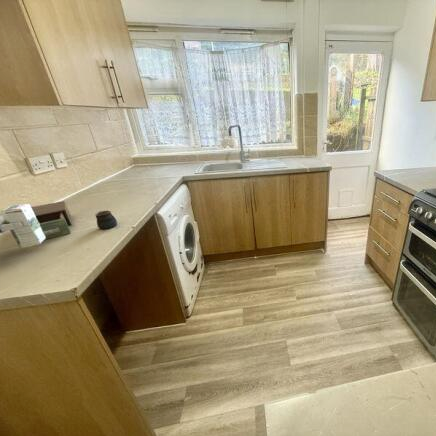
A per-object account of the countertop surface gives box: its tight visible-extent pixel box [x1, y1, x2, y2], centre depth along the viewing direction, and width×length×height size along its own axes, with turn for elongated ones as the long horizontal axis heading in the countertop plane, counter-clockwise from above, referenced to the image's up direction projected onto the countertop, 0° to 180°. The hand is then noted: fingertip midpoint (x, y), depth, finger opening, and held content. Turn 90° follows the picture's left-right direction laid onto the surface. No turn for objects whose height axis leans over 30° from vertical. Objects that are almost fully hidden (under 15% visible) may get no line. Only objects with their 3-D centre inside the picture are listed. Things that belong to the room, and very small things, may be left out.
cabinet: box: [31, 200, 73, 227], centre depth 114 cm, size 17×13×9 cm
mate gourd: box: [95, 210, 118, 231], centre depth 109 cm, size 7×8×10 cm
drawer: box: [36, 212, 71, 240], centre depth 105 cm, size 20×11×7 cm, turn 42°
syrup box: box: [0, 203, 47, 249], centre depth 88 cm, size 6×6×14 cm
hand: (26, 220), depth 88 cm, fingers closed on syrup box, 5 cm apart
